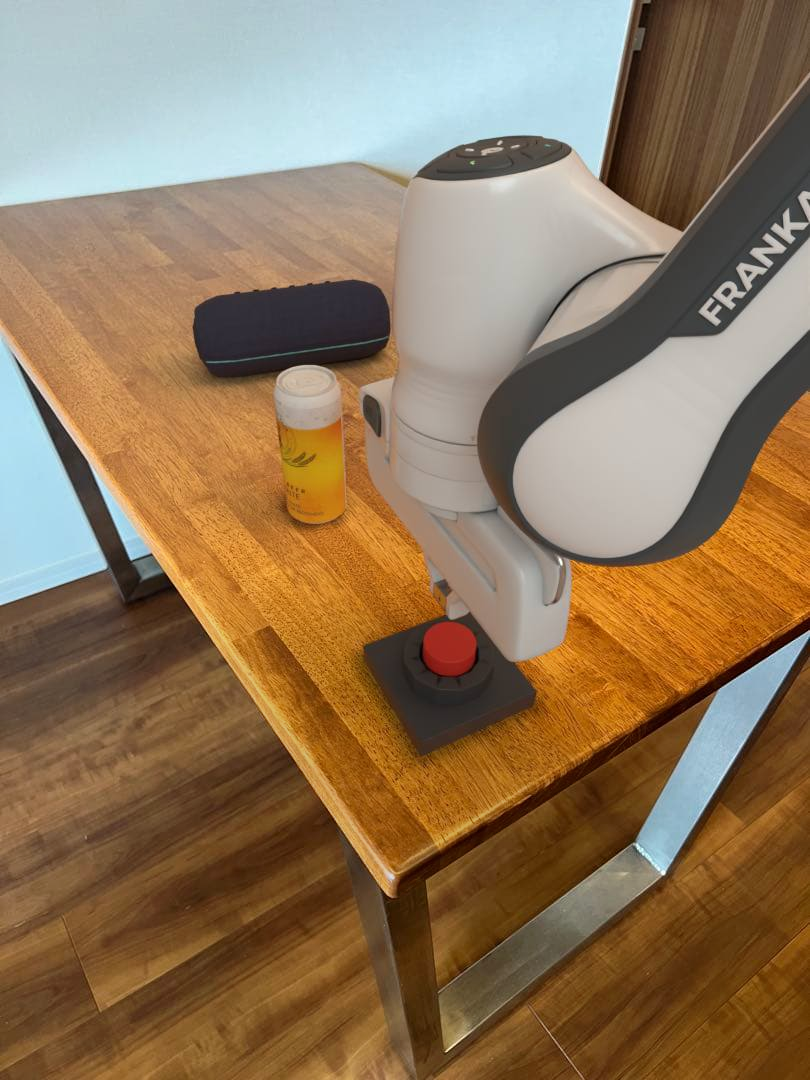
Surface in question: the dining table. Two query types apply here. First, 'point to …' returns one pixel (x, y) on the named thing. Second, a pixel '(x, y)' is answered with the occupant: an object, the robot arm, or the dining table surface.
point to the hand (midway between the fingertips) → (449, 604)
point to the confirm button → (449, 649)
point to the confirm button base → (446, 686)
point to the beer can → (311, 442)
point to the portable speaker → (291, 327)
